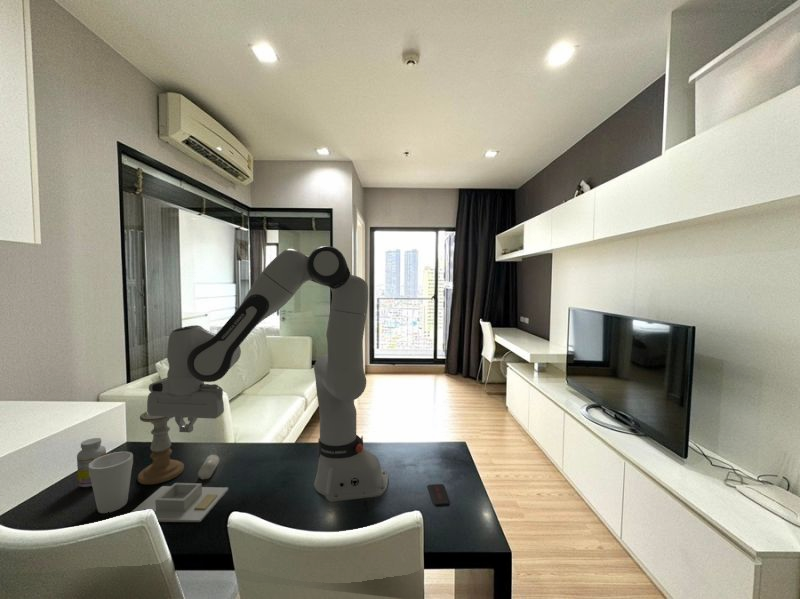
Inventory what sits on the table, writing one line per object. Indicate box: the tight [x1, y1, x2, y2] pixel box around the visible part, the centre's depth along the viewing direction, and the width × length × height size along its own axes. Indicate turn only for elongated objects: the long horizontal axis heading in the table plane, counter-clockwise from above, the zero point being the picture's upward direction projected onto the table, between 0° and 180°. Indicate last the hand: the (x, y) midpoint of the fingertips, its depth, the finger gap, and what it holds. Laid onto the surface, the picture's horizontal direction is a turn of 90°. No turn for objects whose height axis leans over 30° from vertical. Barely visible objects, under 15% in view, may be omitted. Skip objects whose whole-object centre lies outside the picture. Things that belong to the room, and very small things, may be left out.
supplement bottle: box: [76, 437, 107, 488], centre depth 106 cm, size 7×7×13 cm
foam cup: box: [89, 451, 134, 514], centre depth 95 cm, size 10×9×13 cm
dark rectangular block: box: [426, 483, 451, 507], centre depth 98 cm, size 5×12×3 cm, turn 5°
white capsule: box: [197, 454, 220, 480], centre depth 112 cm, size 4×4×9 cm
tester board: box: [131, 482, 229, 523], centre depth 95 cm, size 20×14×4 cm
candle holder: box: [137, 411, 185, 485], centre depth 110 cm, size 12×12×20 cm
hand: (186, 431), depth 97 cm, fingers closed
